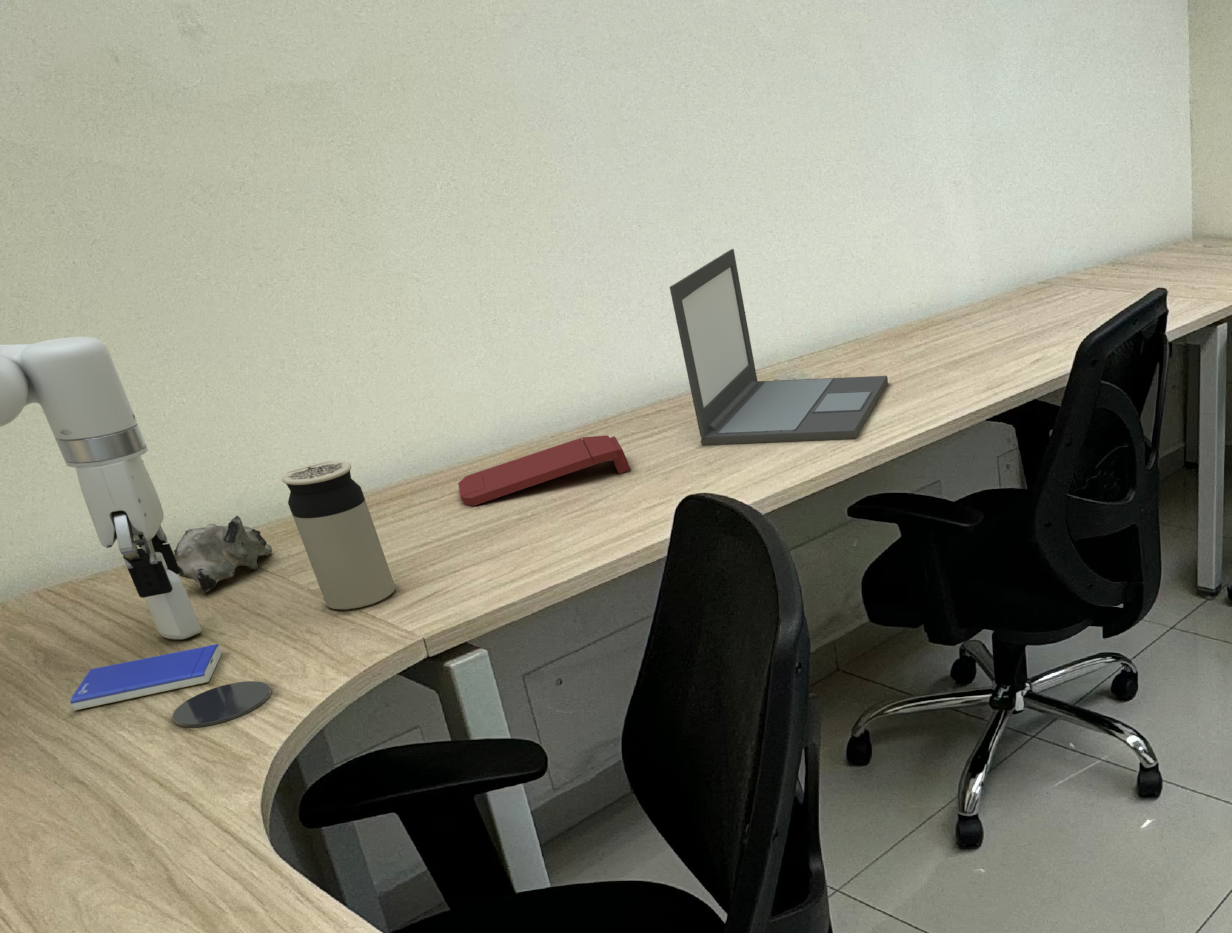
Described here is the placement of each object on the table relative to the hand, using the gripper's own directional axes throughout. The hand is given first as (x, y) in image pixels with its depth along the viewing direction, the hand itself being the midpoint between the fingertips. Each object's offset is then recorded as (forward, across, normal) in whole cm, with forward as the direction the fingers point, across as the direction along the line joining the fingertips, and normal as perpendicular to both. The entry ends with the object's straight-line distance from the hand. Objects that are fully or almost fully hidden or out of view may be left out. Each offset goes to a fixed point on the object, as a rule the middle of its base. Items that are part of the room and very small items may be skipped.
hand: (160, 583), depth 141 cm
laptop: (+6, -44, +92) cm, 102 cm away
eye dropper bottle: (+7, 0, 0) cm, 7 cm away
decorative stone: (+7, -19, +4) cm, 21 cm away
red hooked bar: (+6, -33, +46) cm, 57 cm away
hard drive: (+7, +12, -1) cm, 15 cm away
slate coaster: (+7, +24, +7) cm, 26 cm away
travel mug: (+7, +1, +20) cm, 21 cm away
